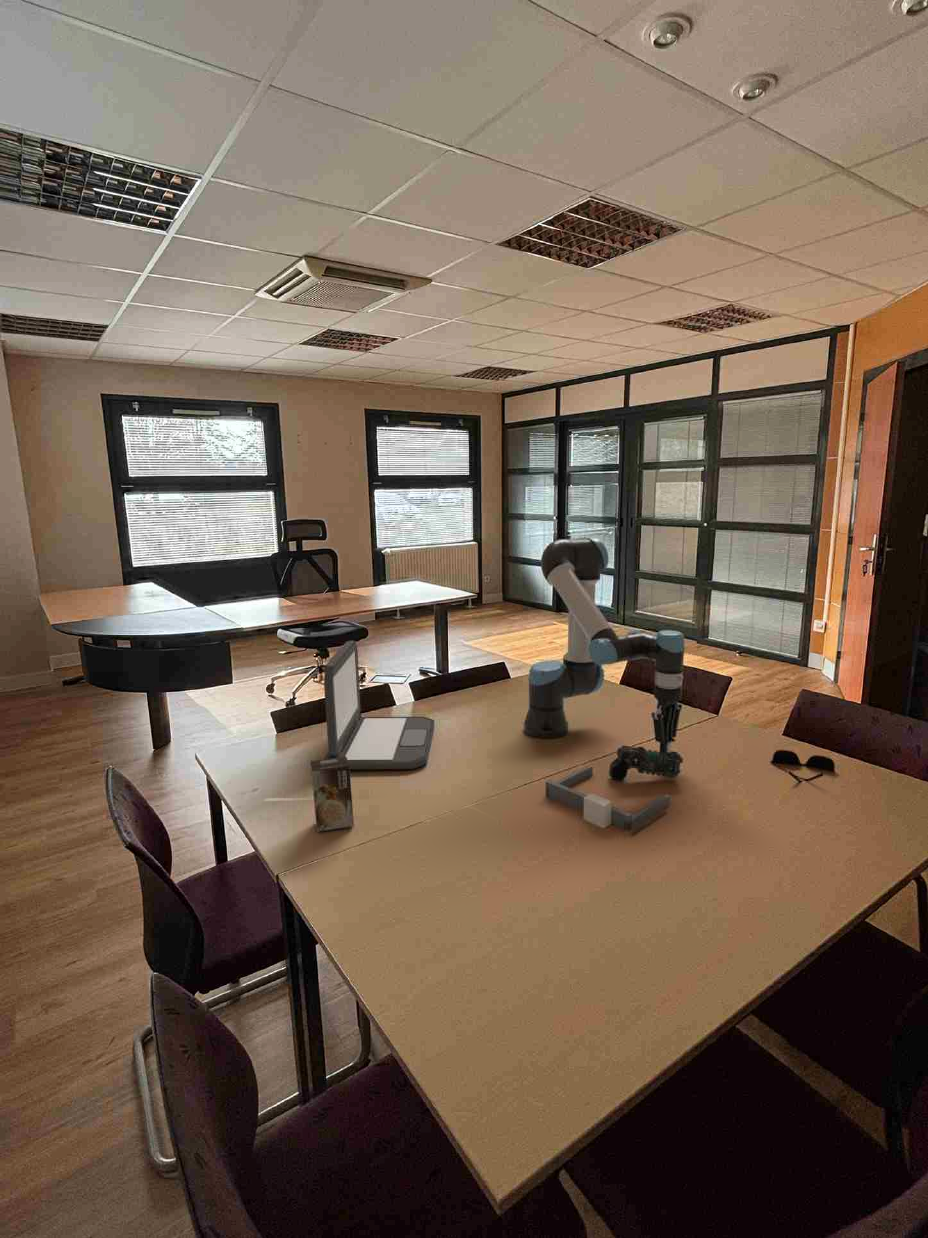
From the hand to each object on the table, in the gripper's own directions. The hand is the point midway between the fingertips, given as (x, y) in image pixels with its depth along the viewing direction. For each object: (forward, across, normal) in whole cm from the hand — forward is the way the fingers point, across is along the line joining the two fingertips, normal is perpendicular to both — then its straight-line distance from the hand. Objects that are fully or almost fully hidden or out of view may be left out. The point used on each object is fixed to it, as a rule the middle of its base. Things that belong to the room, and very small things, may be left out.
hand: (664, 762), depth 184 cm
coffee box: (+2, -86, +41) cm, 95 cm away
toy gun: (+2, -12, 0) cm, 12 cm away
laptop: (+2, -49, +72) cm, 87 cm away
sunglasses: (+2, +21, -30) cm, 37 cm away
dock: (+1, -30, 0) cm, 30 cm away
